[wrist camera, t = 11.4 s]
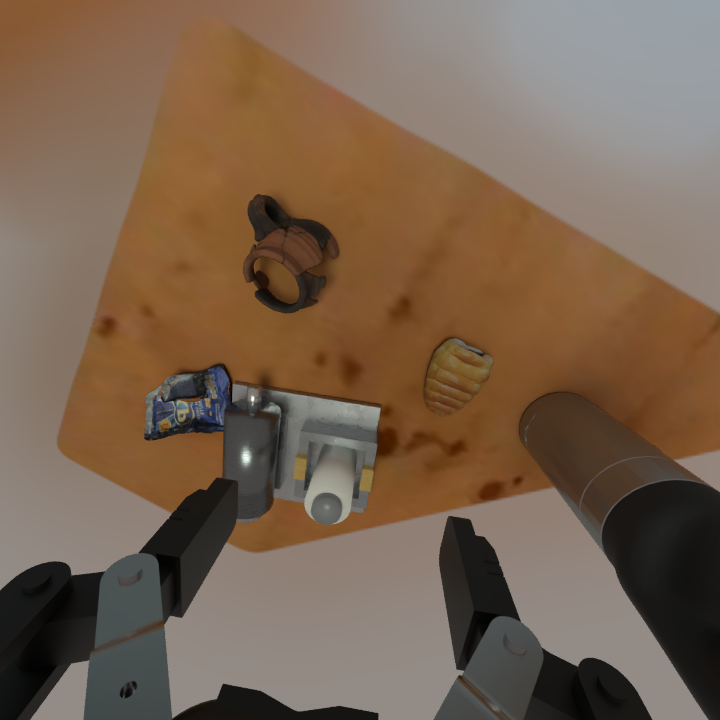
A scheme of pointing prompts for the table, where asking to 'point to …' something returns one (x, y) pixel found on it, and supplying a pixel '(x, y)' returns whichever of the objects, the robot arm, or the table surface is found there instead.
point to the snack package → (188, 404)
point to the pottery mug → (286, 251)
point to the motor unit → (292, 444)
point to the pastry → (455, 376)
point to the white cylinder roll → (332, 485)
